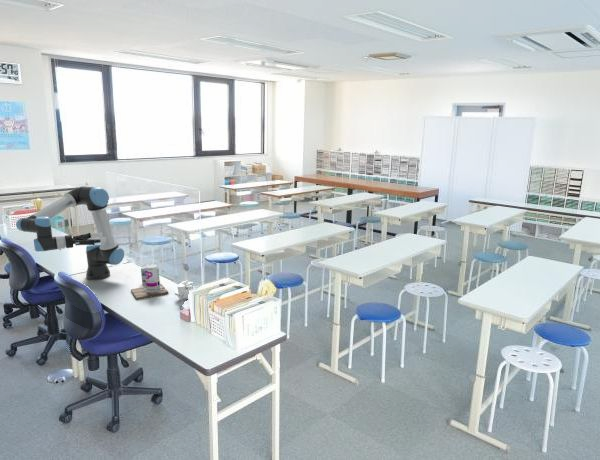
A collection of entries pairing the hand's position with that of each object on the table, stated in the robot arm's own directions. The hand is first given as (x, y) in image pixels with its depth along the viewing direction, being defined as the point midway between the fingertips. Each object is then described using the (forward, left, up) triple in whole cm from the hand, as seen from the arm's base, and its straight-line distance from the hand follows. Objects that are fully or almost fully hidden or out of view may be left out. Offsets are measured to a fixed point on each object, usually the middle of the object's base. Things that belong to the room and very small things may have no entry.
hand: (104, 237), depth 270 cm
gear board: (+12, +21, -36) cm, 43 cm away
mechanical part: (+34, +37, -36) cm, 62 cm away
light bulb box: (-8, +27, -36) cm, 46 cm away
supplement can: (+12, +24, -34) cm, 43 cm away
